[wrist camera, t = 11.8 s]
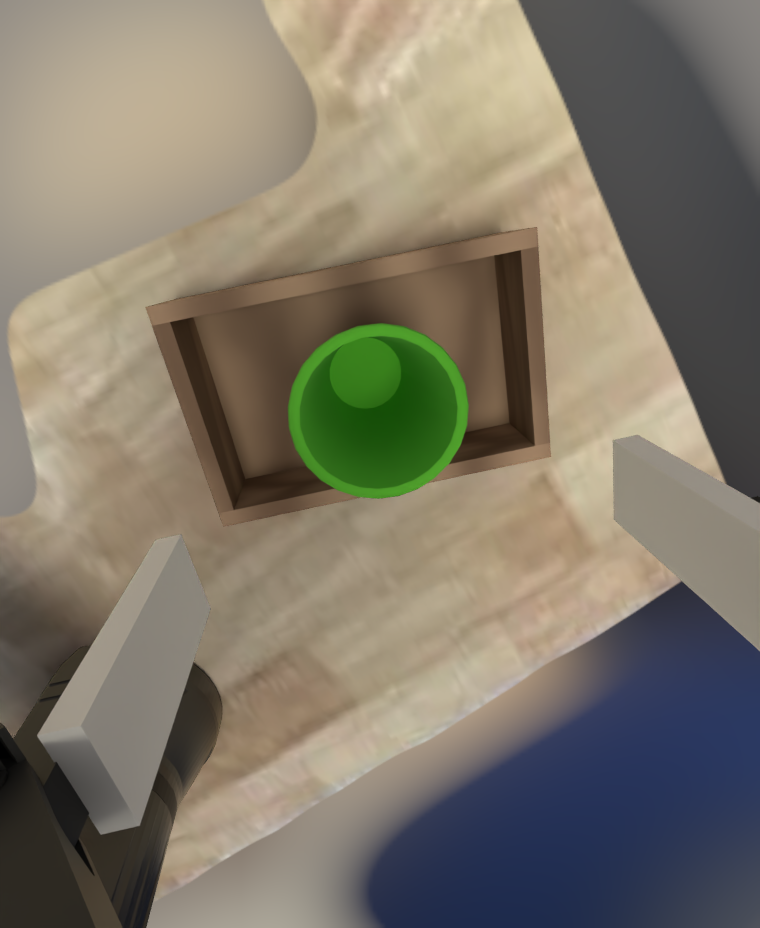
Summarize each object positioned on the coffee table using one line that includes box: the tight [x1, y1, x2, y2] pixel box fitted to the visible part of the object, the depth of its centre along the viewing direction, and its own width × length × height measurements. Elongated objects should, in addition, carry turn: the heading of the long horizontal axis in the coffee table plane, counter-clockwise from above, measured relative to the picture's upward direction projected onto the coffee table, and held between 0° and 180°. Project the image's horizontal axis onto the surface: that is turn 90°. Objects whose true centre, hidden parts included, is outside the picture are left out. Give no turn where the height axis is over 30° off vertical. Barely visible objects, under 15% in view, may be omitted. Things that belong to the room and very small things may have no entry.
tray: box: [146, 227, 551, 527], centre depth 33 cm, size 22×14×6 cm, turn 101°
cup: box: [288, 323, 469, 499], centre depth 30 cm, size 9×9×11 cm
